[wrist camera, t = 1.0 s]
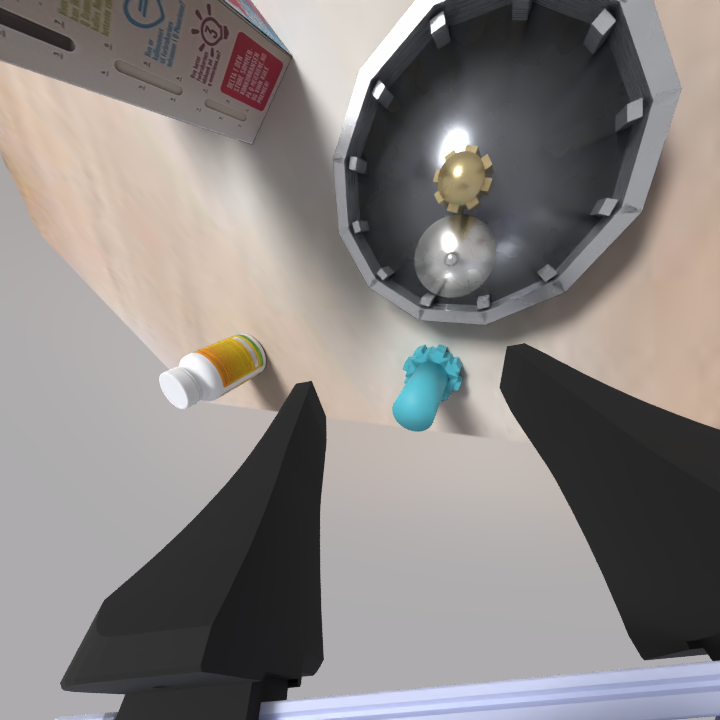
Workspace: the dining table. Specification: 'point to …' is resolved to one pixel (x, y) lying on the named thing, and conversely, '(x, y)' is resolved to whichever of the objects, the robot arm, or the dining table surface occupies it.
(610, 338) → the dining table surface
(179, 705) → the robot arm
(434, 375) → the gear
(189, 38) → the juice carton
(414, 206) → the bowl
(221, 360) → the supplement bottle
